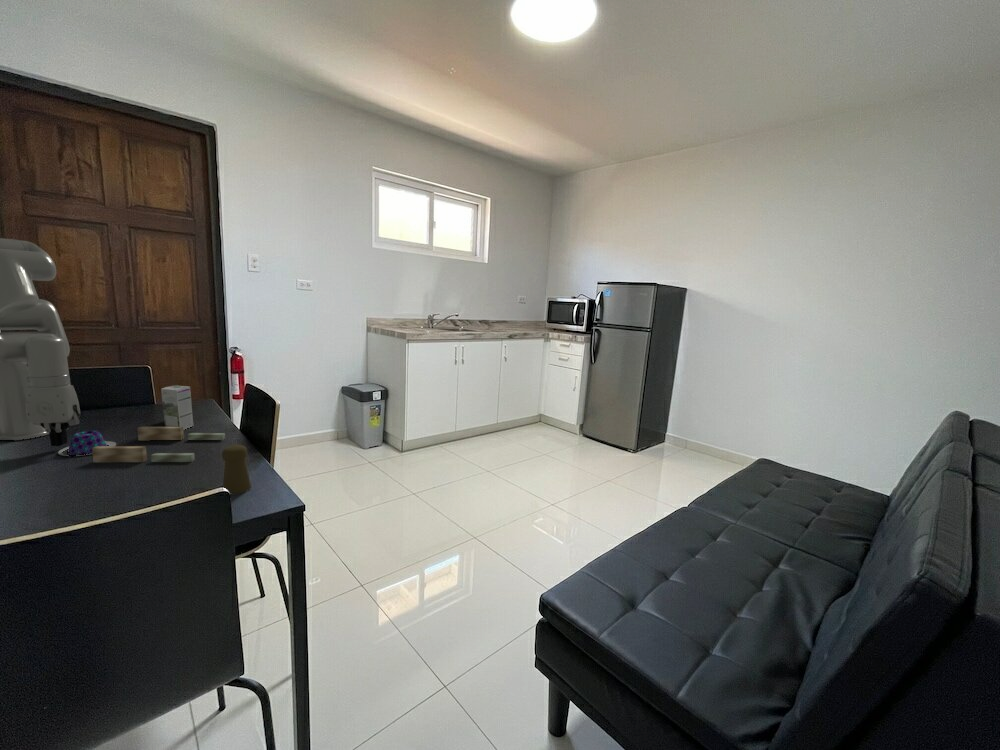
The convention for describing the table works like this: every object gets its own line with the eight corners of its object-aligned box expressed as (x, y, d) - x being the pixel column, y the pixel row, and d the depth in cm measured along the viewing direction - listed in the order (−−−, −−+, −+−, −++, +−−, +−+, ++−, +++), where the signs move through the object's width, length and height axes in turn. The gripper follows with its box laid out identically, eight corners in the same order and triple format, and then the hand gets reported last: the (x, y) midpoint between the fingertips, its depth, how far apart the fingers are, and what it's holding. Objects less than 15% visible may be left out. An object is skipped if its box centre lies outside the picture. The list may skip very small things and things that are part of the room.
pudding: (88, 442, 126) (86, 425, 125) (127, 444, 126) (126, 428, 125) (45, 457, 114) (42, 438, 113) (88, 459, 114) (86, 441, 113)
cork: (230, 483, 105) (228, 442, 103) (255, 484, 105) (253, 442, 103) (216, 494, 99) (213, 450, 97) (243, 495, 99) (241, 451, 97)
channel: (93, 462, 112) (91, 448, 111) (141, 438, 130) (140, 426, 130) (191, 461, 116) (190, 448, 115) (225, 439, 134) (224, 427, 134)
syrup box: (194, 426, 144) (191, 385, 142) (179, 432, 138) (176, 389, 136) (179, 425, 145) (175, 384, 142) (163, 430, 139) (160, 388, 136)
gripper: (5, 383, 110) (15, 449, 114) (69, 384, 113) (78, 449, 116) (32, 378, 118) (41, 440, 121) (92, 379, 120) (99, 440, 123)
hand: (59, 444), depth 118 cm, fingers closed
